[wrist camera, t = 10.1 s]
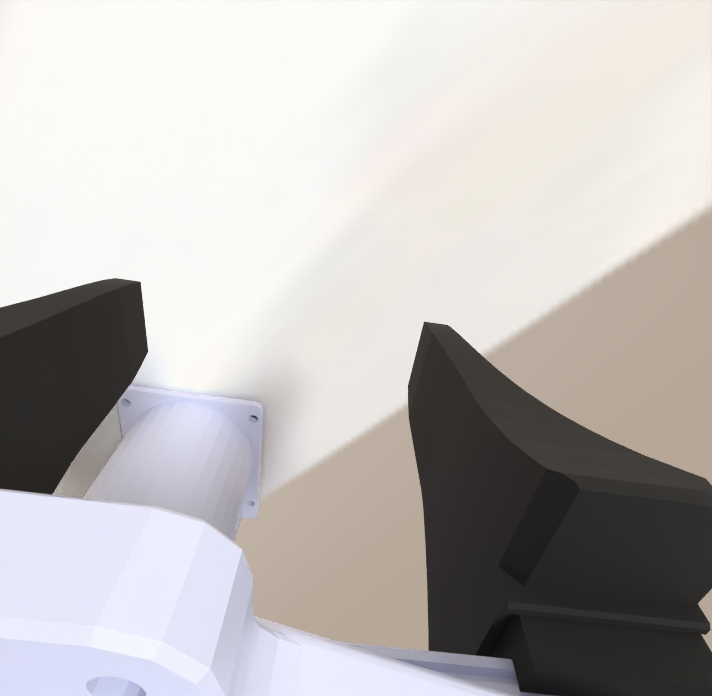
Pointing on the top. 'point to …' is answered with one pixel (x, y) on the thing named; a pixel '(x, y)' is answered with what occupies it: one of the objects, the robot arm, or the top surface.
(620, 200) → the top surface
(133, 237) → the top surface
